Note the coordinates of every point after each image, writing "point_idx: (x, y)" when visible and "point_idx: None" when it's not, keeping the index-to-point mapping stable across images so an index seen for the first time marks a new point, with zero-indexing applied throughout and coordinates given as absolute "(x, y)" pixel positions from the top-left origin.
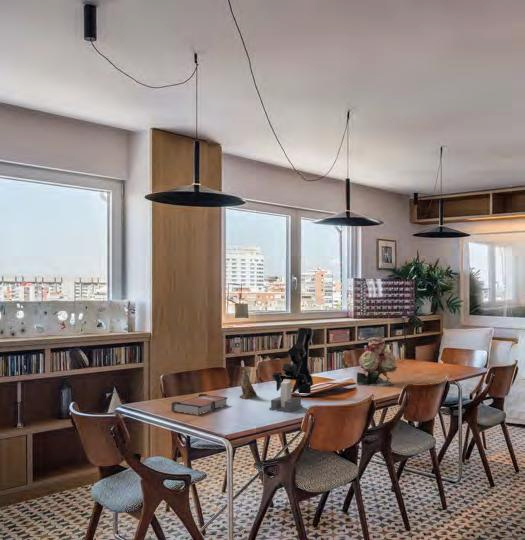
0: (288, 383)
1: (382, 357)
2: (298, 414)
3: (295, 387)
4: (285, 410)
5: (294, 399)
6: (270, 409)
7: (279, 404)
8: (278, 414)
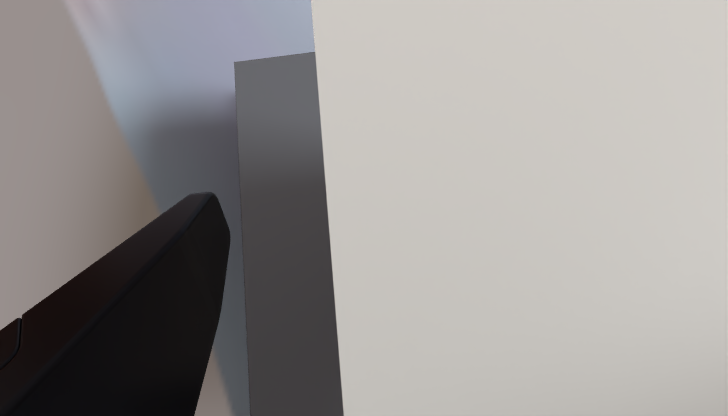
0: (331, 203)
1: None
2: (127, 80)
3: (78, 300)
4: None
5: (284, 316)
6: None
7: None
8: None
